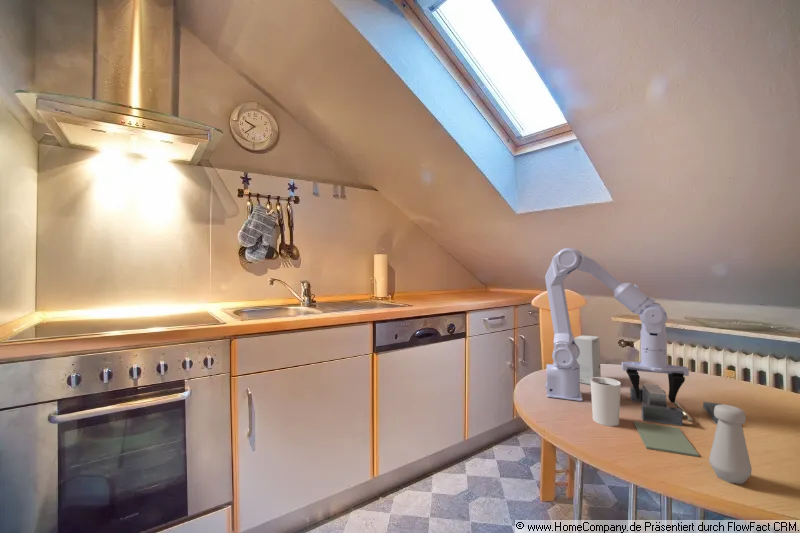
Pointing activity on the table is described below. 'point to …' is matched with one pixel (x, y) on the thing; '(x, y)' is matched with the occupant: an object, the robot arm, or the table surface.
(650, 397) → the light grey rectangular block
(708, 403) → the bracket
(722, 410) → the salt shaker
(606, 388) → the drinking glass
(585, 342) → the skincare box
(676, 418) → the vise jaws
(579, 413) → the table surface
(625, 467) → the table surface
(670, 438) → the mat
